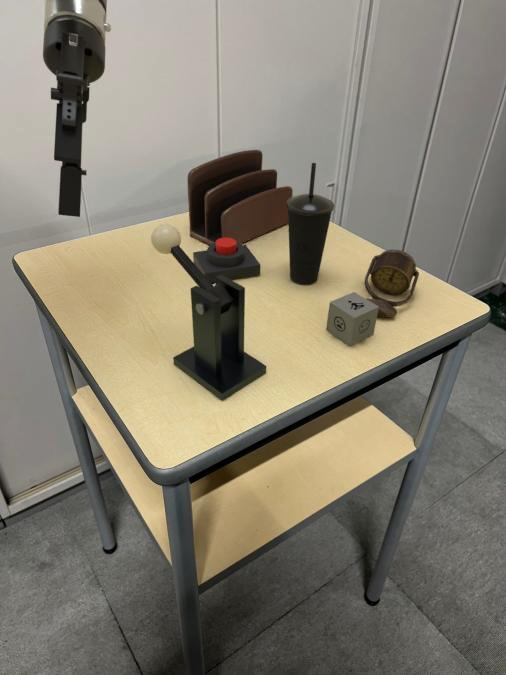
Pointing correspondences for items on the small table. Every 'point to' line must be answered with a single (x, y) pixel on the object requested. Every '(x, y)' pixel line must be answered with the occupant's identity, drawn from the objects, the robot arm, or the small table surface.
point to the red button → (225, 246)
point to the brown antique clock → (391, 279)
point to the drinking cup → (307, 233)
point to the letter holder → (235, 198)
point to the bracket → (219, 343)
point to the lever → (187, 262)
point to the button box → (227, 263)
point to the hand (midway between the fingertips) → (68, 190)
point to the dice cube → (352, 318)
